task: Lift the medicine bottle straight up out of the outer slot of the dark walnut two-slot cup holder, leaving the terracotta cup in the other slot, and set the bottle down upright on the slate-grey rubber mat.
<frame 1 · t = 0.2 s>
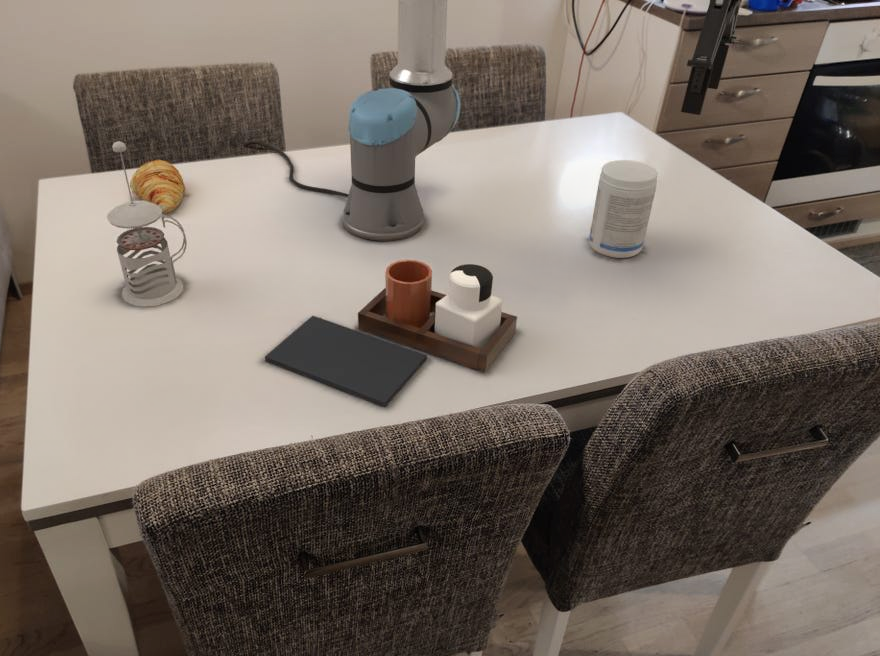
hand: (699, 99, 111), 28 cm above the table, tool pointing down, fingers open, 13 cm apart
terracotta cup: (407, 321, 112), resting in cup holder
french press: (158, 289, 119), on the table
supplement tub: (613, 247, 132), on the table
cup holder: (436, 330, 111), on the table
croissant: (159, 196, 147), on the table
mat: (346, 360, 105), on the table
medicine bottle: (466, 341, 109), resting in cup holder
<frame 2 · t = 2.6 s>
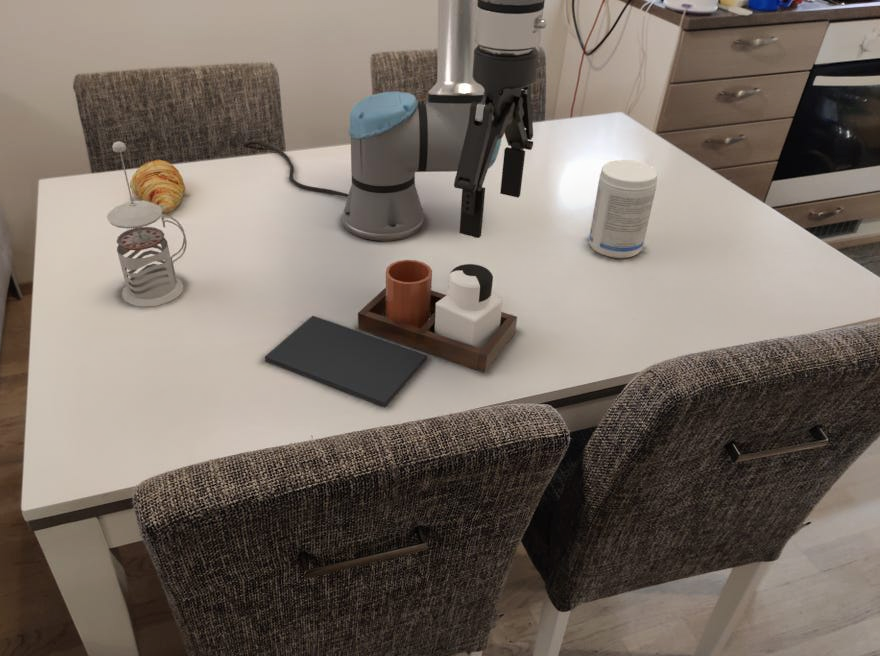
hand: (491, 213, 97), 20 cm above the table, tool pointing down, fingers open, 13 cm apart
nothing on the table moved.
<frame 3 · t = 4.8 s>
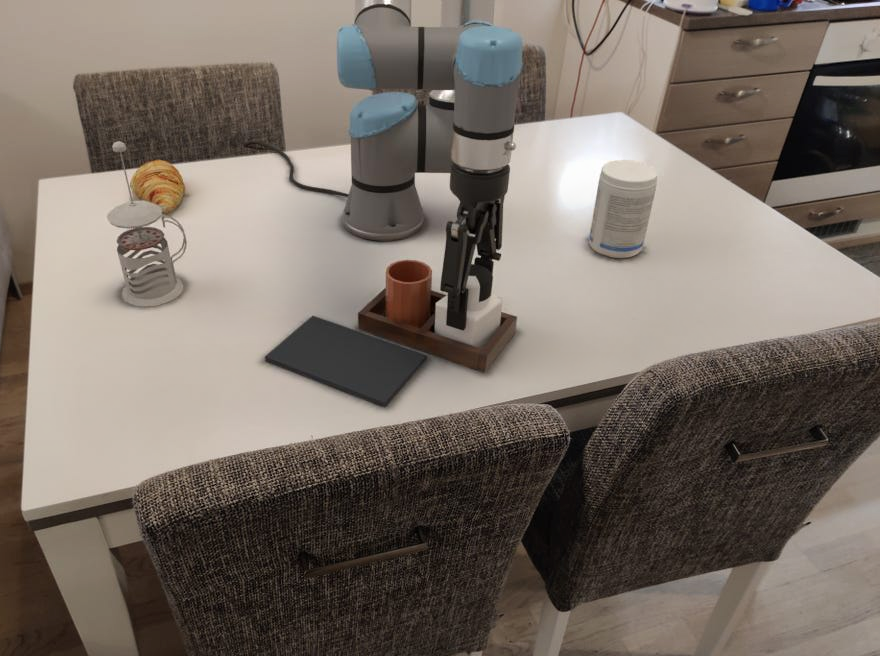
hand: (468, 311, 105), 5 cm above the table, tool pointing down, fingers closed on medicine bottle, 8 cm apart
medicine bottle: (466, 341, 109), resting in cup holder, touching gripper
everything else where it was.
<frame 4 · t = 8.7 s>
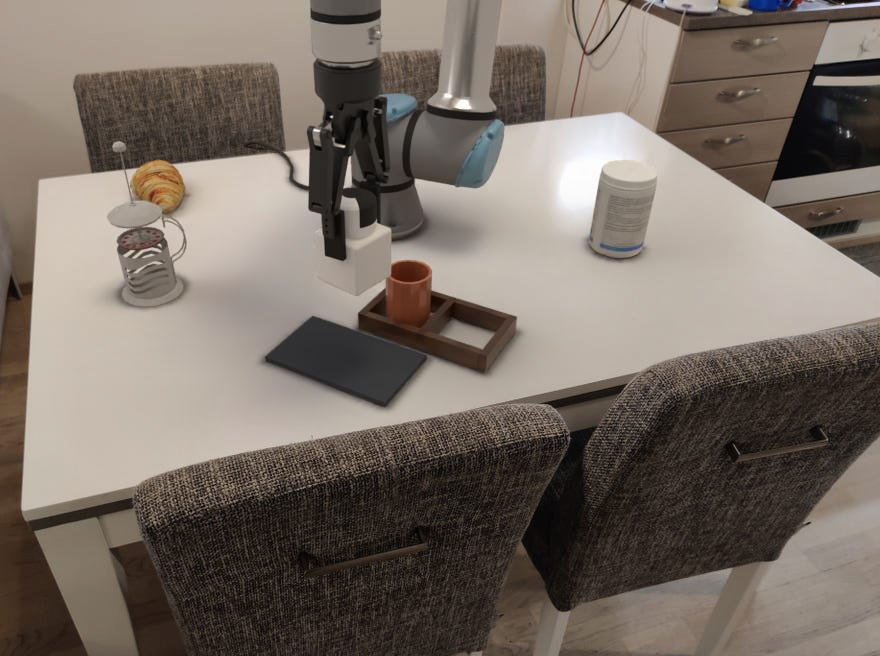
hand: (353, 242, 93), 19 cm above the table, tool pointing down, fingers closed on medicine bottle, 8 cm apart
medicine bottle: (354, 279, 97), point 13 cm above the table, touching gripper
everything else where it was.
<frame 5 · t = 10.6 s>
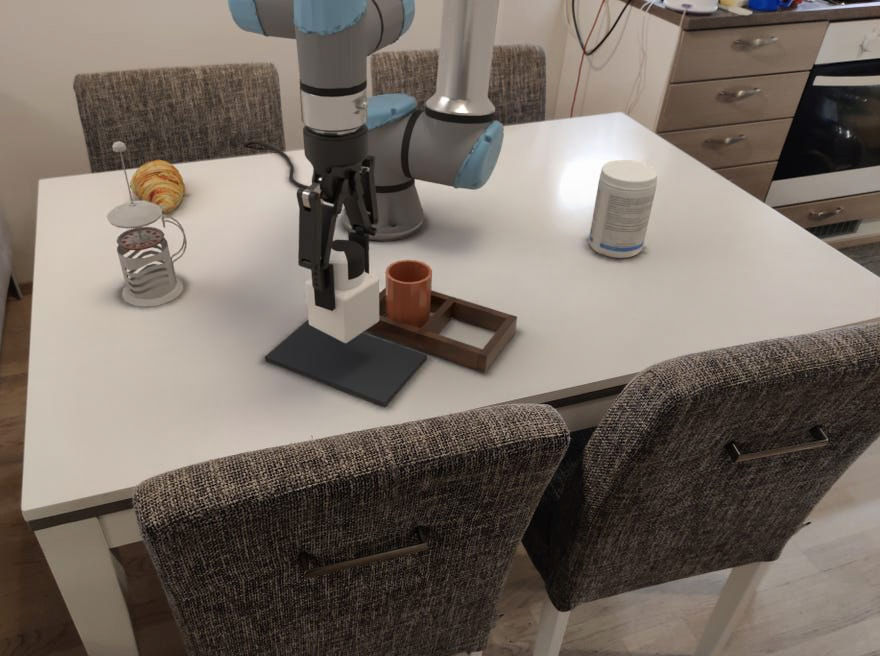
hand: (342, 291, 97), 12 cm above the table, tool pointing down, fingers closed on medicine bottle, 8 cm apart
medicine bottle: (344, 324, 101), point 6 cm above the table, touching gripper
everything else where it was.
when the fingers open (6 cm above the table, at t = 12.6 s): medicine bottle stays where it is, resting on mat.
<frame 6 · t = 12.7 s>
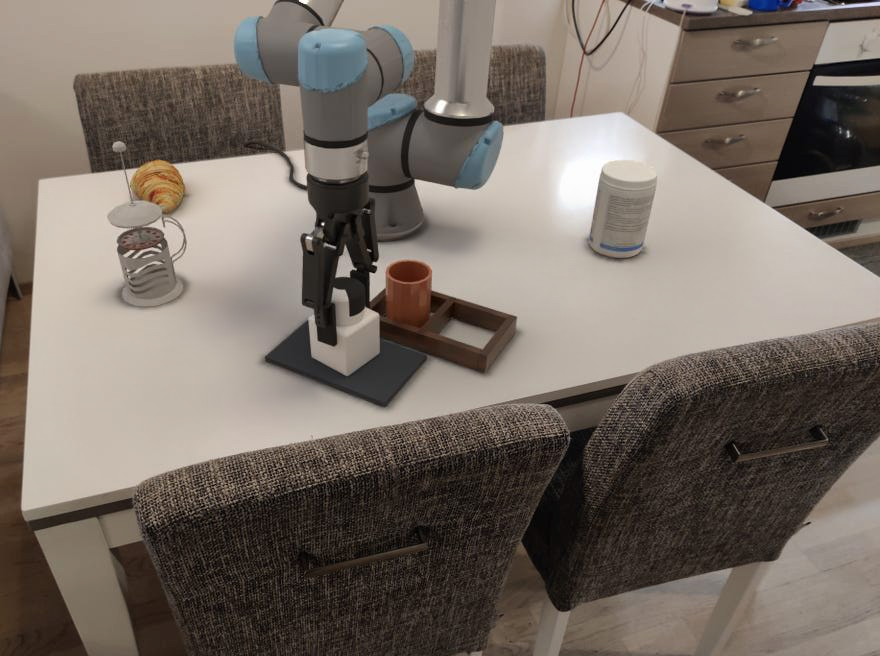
hand: (344, 326, 101), 6 cm above the table, tool pointing down, fingers open, 8 cm apart
medicine bottle: (345, 356, 104), point 1 cm above the table, touching mat
everything else where it was.
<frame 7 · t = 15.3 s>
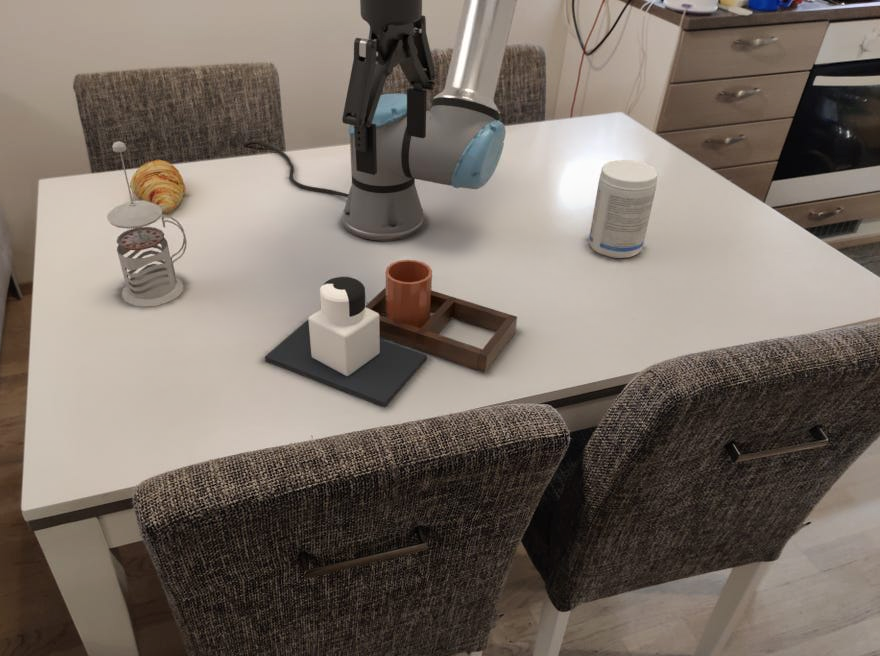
hand: (392, 153, 100), 25 cm above the table, tool pointing down, fingers open, 13 cm apart
nothing on the table moved.
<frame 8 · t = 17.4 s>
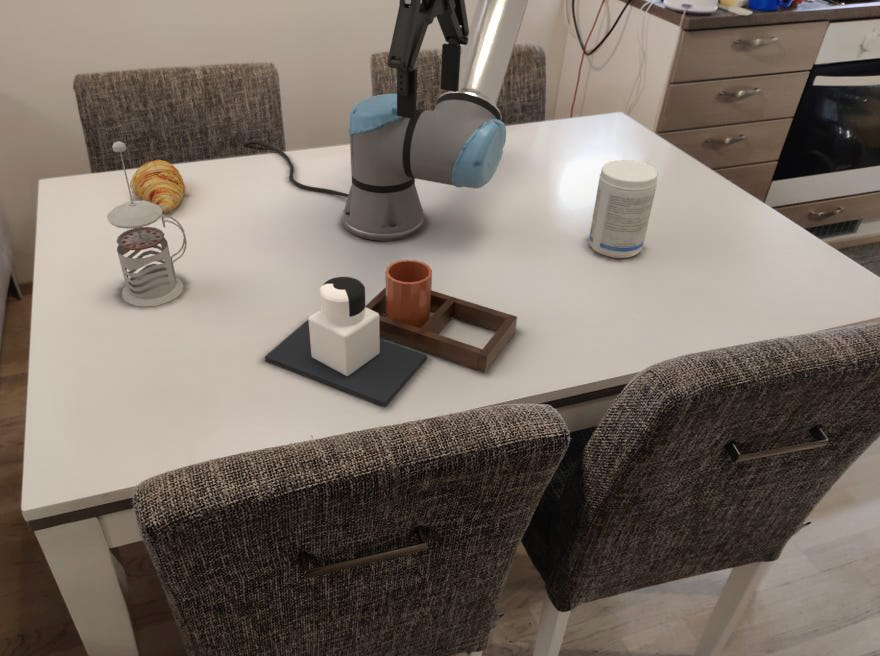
hand: (428, 103, 107), 29 cm above the table, tool pointing down, fingers open, 13 cm apart
nothing on the table moved.
at the end: medicine bottle inside the target area on the mat (0.1 cm from its centre), point 0.6 cm above the mat's base; medicine bottle tilted 0°; terracotta cup moved 0.0 cm from its start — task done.
